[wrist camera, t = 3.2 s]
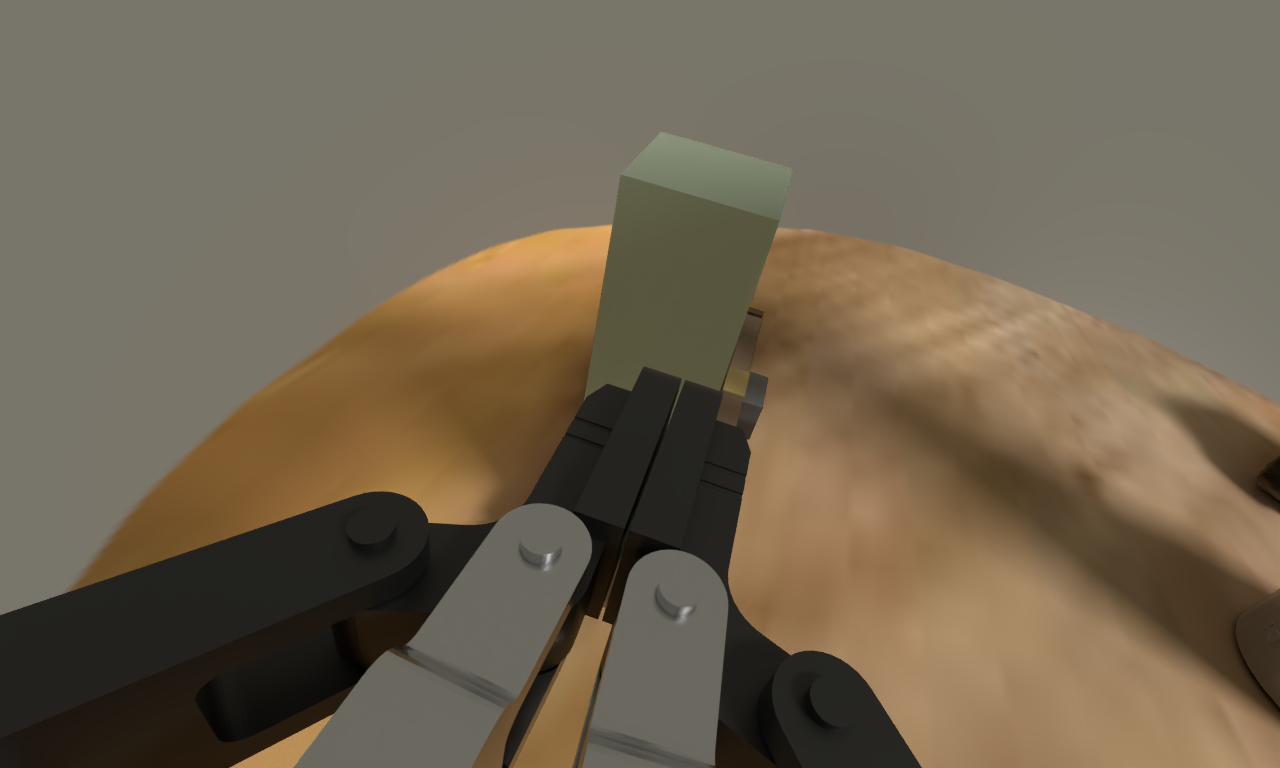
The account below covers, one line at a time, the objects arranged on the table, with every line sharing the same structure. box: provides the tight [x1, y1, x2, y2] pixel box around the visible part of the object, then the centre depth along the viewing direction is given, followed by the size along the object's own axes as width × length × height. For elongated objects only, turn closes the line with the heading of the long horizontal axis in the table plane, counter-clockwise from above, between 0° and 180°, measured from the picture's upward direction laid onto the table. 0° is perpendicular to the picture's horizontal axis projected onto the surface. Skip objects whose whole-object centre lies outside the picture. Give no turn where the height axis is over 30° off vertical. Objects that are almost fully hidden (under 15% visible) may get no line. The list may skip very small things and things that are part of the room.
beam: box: [603, 307, 768, 608], centre depth 35 cm, size 24×10×3 cm, turn 164°
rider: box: [584, 132, 793, 562], centre depth 24 cm, size 6×5×17 cm
